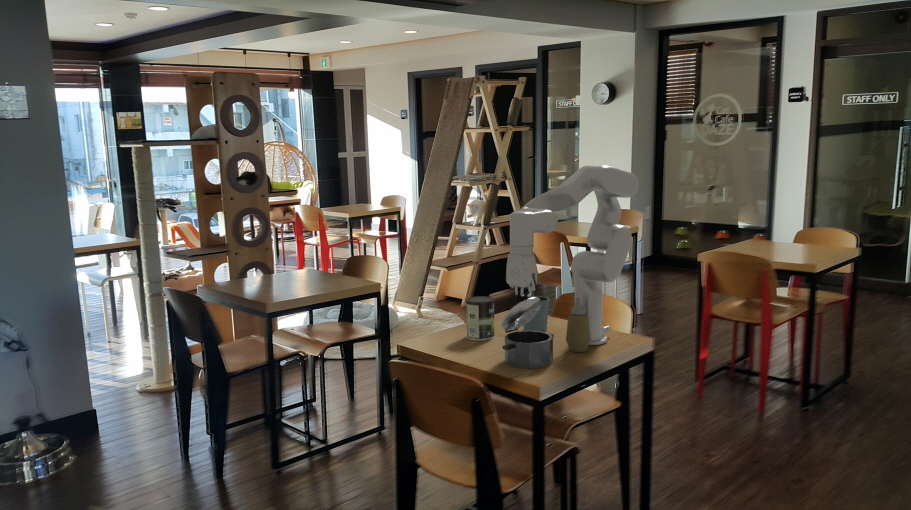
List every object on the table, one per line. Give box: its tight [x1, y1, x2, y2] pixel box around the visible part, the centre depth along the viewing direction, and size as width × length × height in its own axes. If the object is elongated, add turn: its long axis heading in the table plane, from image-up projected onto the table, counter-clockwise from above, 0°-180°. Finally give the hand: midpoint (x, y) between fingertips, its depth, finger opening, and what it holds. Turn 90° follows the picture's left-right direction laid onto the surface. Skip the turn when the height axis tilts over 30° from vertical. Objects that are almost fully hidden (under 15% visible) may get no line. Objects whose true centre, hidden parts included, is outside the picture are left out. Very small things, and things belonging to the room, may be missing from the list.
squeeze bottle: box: [565, 297, 590, 353], centre depth 235 cm, size 8×8×18 cm
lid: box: [500, 297, 542, 334], centre depth 227 cm, size 15×16×3 cm
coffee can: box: [465, 295, 496, 342], centre depth 255 cm, size 10×10×14 cm
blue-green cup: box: [523, 295, 550, 333], centre depth 262 cm, size 10×10×12 cm
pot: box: [501, 330, 555, 370], centre depth 226 cm, size 21×15×8 cm
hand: (522, 307), depth 226 cm, fingers closed
